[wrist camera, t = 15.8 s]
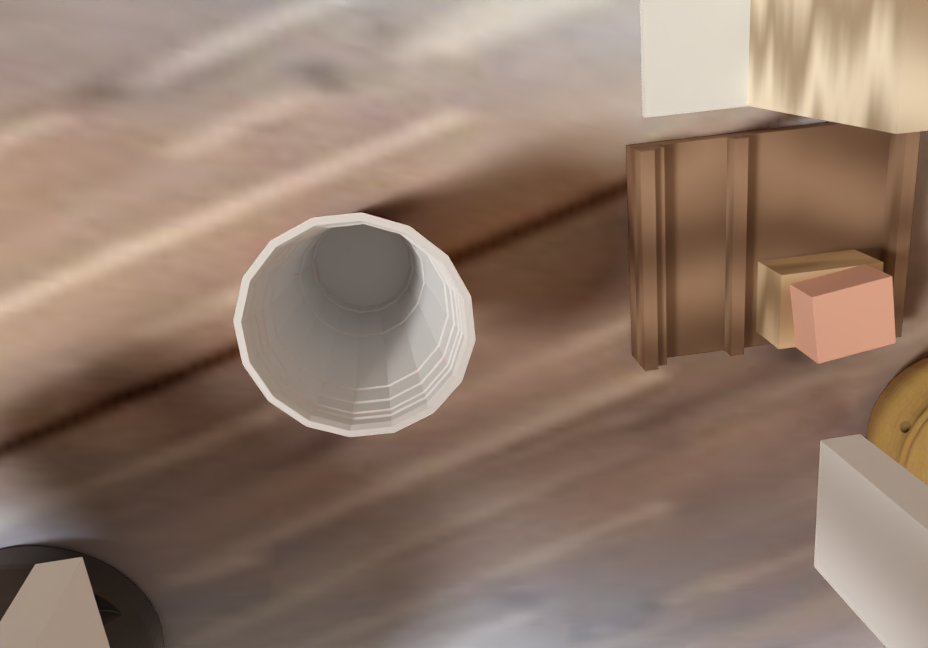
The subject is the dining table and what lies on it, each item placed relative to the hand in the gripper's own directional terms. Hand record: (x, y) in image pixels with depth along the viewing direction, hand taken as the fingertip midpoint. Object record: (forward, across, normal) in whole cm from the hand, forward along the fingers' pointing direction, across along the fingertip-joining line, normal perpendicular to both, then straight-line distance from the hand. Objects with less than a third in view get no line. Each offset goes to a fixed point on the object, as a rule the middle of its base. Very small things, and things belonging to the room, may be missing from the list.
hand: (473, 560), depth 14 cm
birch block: (+33, -22, -8) cm, 40 cm away
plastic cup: (+34, +2, +3) cm, 35 cm away
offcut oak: (+32, -24, +8) cm, 41 cm away
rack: (+34, -22, +4) cm, 40 cm away
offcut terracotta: (+29, -24, +8) cm, 39 cm away
